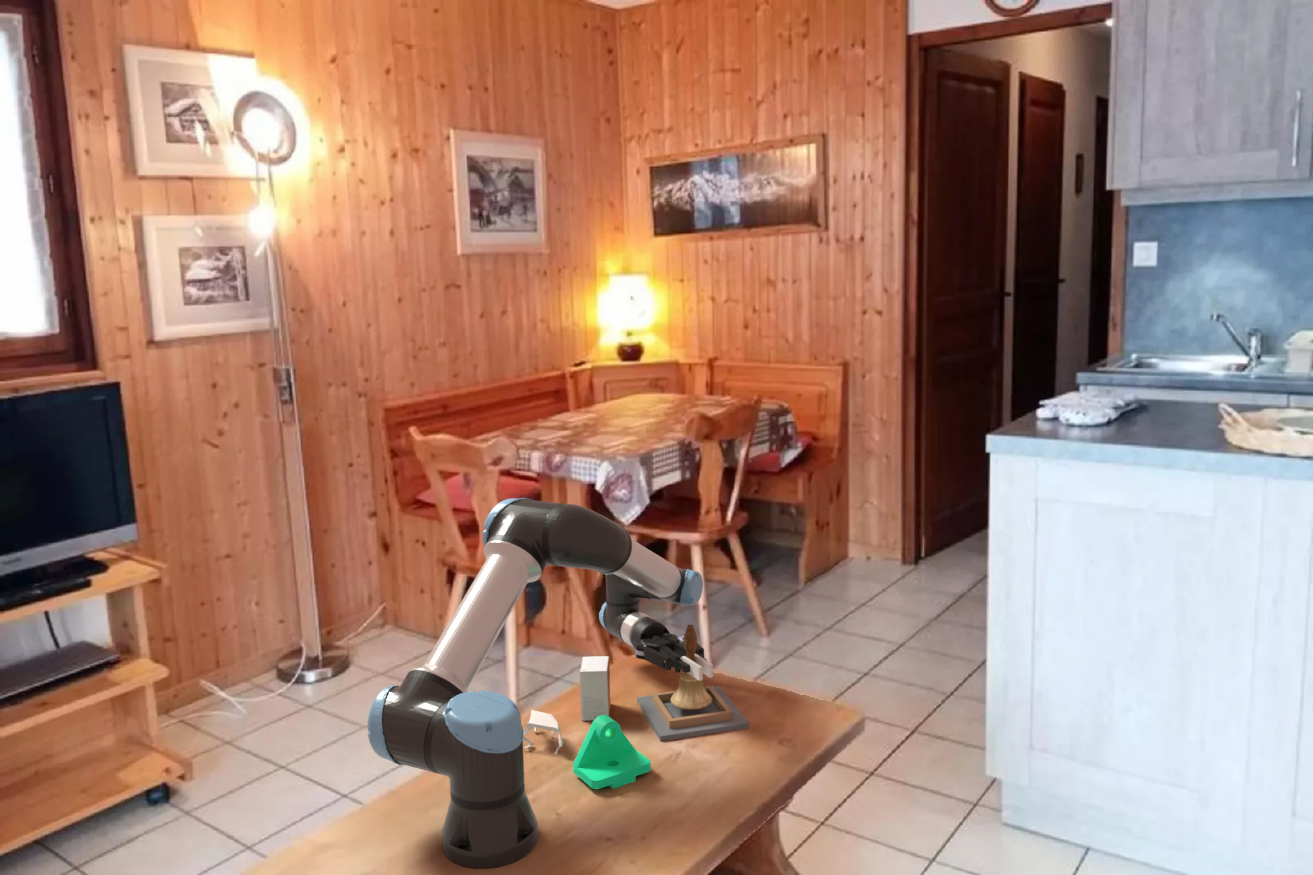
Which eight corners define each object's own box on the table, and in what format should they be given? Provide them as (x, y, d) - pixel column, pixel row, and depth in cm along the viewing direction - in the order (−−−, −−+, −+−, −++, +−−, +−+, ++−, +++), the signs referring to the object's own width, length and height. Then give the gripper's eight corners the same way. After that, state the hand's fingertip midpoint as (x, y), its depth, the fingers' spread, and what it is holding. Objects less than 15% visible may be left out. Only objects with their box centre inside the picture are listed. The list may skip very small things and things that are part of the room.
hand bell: (720, 702, 206) (719, 626, 203) (686, 713, 202) (685, 636, 199) (695, 688, 213) (694, 614, 210) (662, 698, 209) (660, 623, 206)
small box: (609, 721, 206) (607, 671, 204) (580, 721, 206) (579, 671, 204) (611, 703, 214) (609, 655, 212) (584, 703, 214) (582, 655, 212)
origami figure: (506, 745, 197) (505, 720, 196) (537, 728, 204) (536, 705, 203) (551, 763, 190) (550, 738, 189) (582, 746, 196) (582, 721, 195)
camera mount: (594, 796, 178) (592, 740, 176) (573, 777, 185) (571, 724, 183) (653, 775, 185) (651, 722, 183) (630, 758, 191) (629, 706, 189)
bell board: (660, 741, 197) (660, 729, 197) (636, 702, 214) (636, 690, 214) (749, 727, 202) (749, 715, 201) (719, 690, 219) (719, 679, 218)
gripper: (675, 644, 226) (737, 681, 206) (615, 658, 218) (674, 699, 198) (674, 611, 224) (737, 646, 204) (614, 625, 217) (673, 662, 197)
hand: (706, 672), depth 201 cm, fingers closed on hand bell, 2 cm apart
